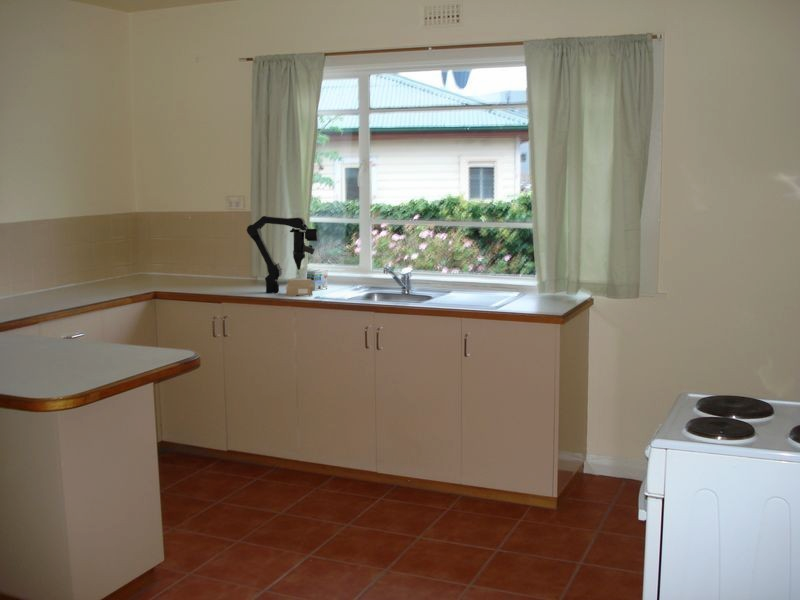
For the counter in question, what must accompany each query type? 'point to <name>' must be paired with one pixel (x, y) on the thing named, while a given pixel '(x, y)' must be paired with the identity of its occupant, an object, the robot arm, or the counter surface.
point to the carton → (299, 290)
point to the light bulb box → (317, 278)
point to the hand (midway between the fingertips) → (298, 269)
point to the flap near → (299, 282)
